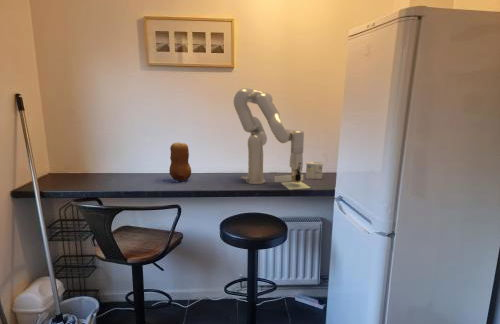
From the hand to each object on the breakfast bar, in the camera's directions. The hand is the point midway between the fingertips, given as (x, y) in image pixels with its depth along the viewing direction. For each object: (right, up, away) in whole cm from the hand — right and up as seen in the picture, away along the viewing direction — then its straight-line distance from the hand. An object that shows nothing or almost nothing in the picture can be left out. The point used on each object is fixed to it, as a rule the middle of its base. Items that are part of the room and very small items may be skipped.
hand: (295, 178), depth 193 cm
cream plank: (-3, -2, +11) cm, 11 cm away
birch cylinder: (0, -2, 0) cm, 2 cm away
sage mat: (0, -4, +1) cm, 4 cm away
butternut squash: (-74, -2, +10) cm, 75 cm away
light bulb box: (+15, -1, +20) cm, 25 cm away
